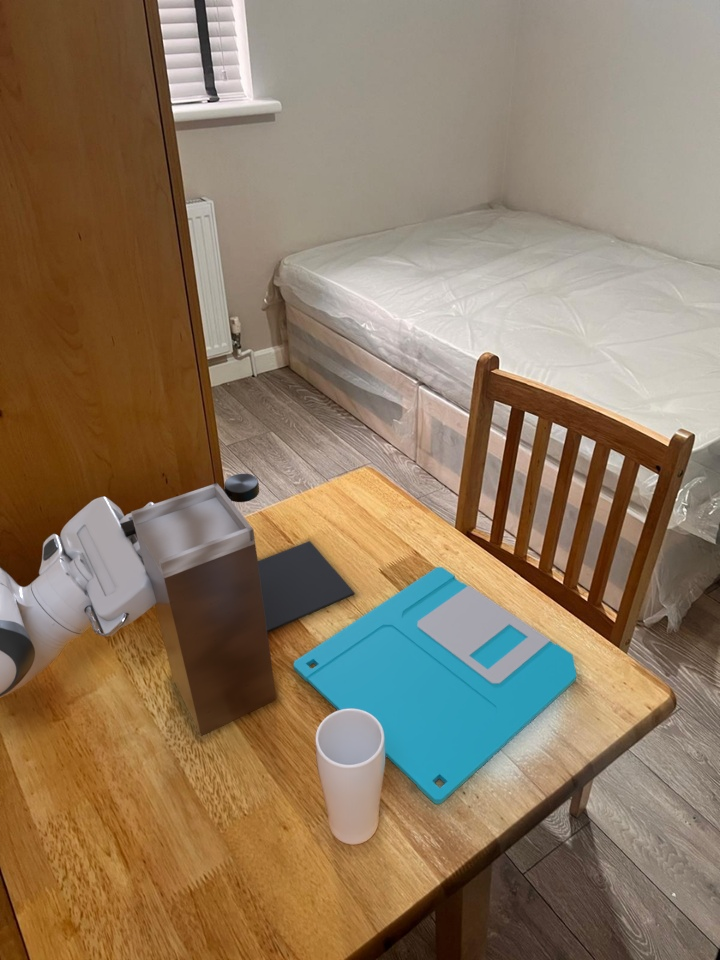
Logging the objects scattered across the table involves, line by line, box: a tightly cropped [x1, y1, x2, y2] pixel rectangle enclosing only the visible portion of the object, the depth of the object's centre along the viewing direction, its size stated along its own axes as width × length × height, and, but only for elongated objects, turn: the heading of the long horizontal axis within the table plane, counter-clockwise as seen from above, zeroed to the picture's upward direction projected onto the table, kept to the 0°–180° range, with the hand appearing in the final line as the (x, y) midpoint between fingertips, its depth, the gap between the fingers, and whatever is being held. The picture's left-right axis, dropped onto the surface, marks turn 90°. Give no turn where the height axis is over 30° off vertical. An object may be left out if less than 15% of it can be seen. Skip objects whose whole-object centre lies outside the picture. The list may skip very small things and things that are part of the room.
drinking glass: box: [314, 709, 386, 846], centre depth 74 cm, size 7×7×15 cm
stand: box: [130, 482, 277, 737], centre depth 85 cm, size 10×10×28 cm
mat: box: [258, 540, 355, 633], centre depth 107 cm, size 24×14×1 cm, turn 121°
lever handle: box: [120, 472, 260, 537], centre depth 93 cm, size 18×4×2 cm, turn 121°
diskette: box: [293, 566, 578, 805], centre depth 95 cm, size 26×28×1 cm
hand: (161, 514), depth 91 cm, fingers closed on lever handle, 2 cm apart
